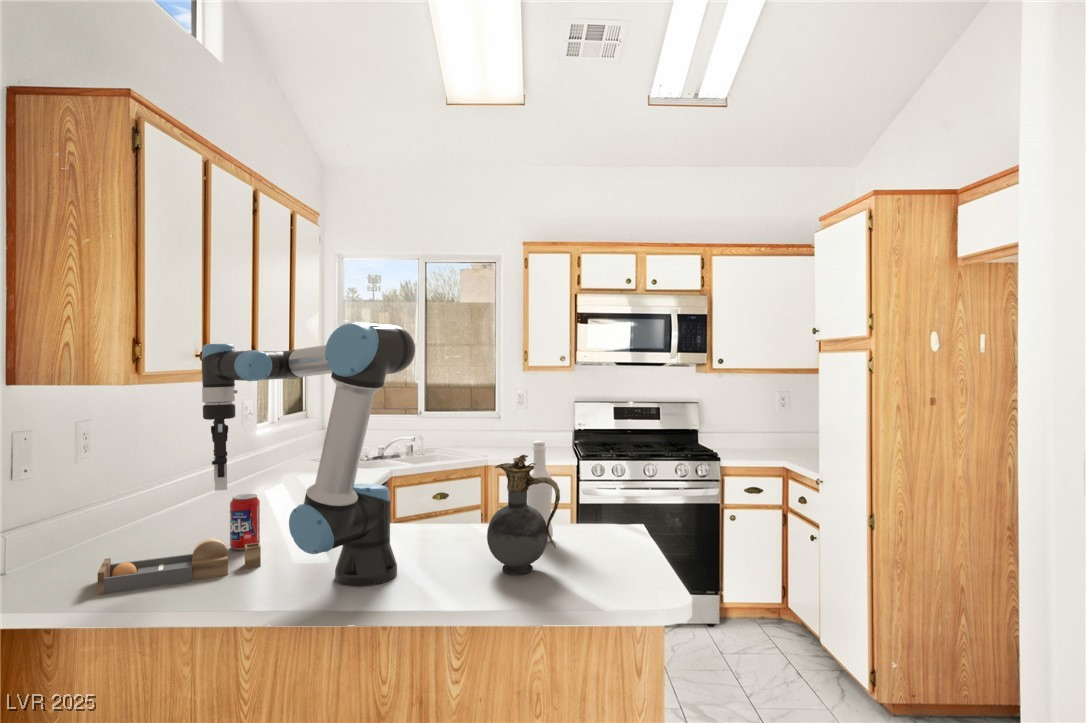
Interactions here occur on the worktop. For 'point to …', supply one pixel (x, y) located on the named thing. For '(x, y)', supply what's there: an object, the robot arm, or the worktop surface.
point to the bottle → (540, 486)
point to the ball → (124, 569)
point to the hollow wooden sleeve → (252, 555)
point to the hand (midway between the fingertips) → (220, 485)
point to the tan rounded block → (209, 559)
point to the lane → (151, 573)
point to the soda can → (244, 521)
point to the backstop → (103, 574)
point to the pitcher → (520, 521)
